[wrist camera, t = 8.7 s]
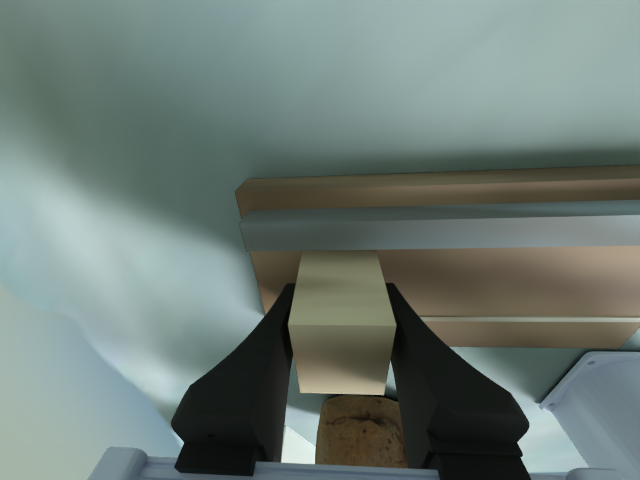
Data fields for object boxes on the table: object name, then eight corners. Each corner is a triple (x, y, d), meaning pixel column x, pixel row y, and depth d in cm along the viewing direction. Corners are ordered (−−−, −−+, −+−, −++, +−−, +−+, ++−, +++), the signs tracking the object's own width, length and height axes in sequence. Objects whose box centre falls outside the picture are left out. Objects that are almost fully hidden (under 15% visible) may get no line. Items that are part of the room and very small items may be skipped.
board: (591, 324, 18) (643, 370, 15) (278, 322, 20) (268, 363, 17) (727, 161, 12) (861, 185, 9) (247, 179, 13) (222, 204, 10)
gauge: (366, 349, 18) (377, 430, 13) (313, 348, 18) (306, 428, 14) (375, 248, 13) (396, 325, 9) (302, 249, 13) (288, 324, 9)
